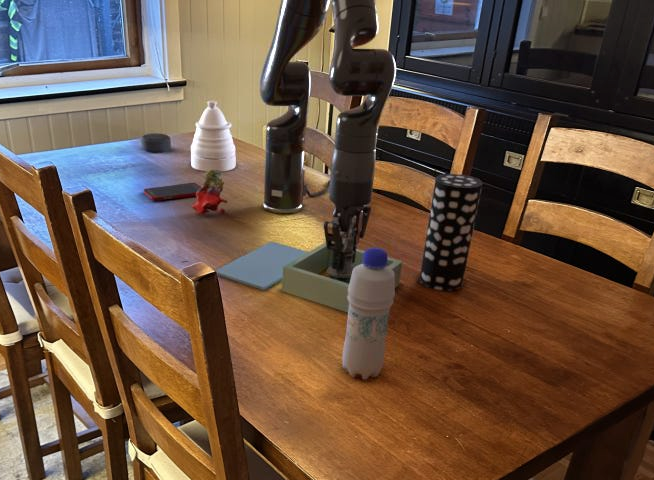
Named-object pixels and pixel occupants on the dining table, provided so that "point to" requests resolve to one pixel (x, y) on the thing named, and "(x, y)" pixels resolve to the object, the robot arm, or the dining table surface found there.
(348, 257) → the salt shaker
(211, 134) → the honey pot
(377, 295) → the bottle
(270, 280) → the drying mat
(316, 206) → the dining table surface
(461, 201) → the spotted tube
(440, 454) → the dining table surface
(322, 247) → the green rectangular frame
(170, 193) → the cell phone
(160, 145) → the smart speaker
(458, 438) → the dining table surface
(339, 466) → the dining table surface
